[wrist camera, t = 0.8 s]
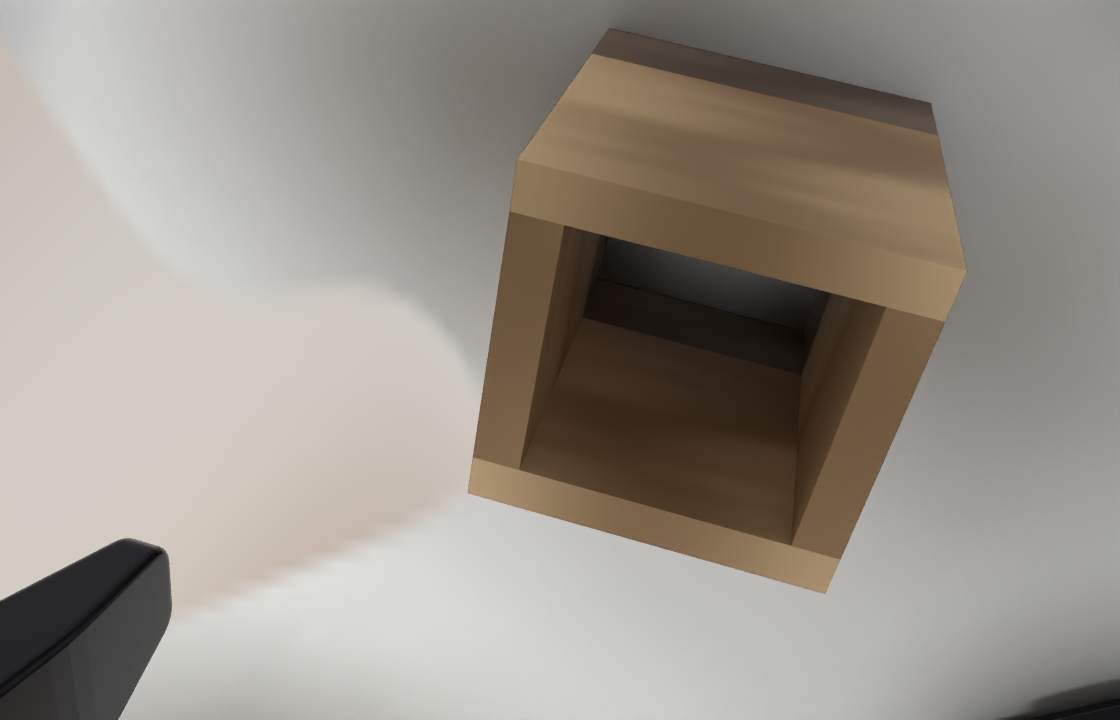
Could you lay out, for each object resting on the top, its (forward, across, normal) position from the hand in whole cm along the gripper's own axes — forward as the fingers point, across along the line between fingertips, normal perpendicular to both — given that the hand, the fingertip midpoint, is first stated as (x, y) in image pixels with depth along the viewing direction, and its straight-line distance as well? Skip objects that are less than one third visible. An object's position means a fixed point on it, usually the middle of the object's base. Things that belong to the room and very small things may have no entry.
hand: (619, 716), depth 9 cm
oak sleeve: (+11, 0, 0) cm, 11 cm away
